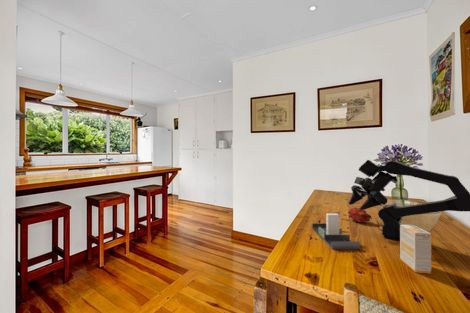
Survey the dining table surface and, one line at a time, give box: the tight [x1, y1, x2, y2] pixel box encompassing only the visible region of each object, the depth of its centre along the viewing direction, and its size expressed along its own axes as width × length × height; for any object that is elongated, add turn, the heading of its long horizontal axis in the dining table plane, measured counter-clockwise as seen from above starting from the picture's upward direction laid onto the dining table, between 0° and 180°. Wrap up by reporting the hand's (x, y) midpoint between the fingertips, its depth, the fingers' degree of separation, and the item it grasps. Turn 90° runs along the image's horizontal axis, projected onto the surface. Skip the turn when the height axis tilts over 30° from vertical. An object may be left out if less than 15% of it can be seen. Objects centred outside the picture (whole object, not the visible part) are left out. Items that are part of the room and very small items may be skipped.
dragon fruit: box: [347, 207, 373, 224], centre depth 112 cm, size 8×8×12 cm
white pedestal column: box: [325, 212, 340, 235], centre depth 91 cm, size 5×4×10 cm
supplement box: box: [399, 224, 432, 275], centre depth 68 cm, size 8×5×13 cm, turn 168°
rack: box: [311, 222, 361, 250], centre depth 91 cm, size 11×22×4 cm, turn 179°
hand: (354, 206), depth 94 cm, fingers open, 9 cm apart
